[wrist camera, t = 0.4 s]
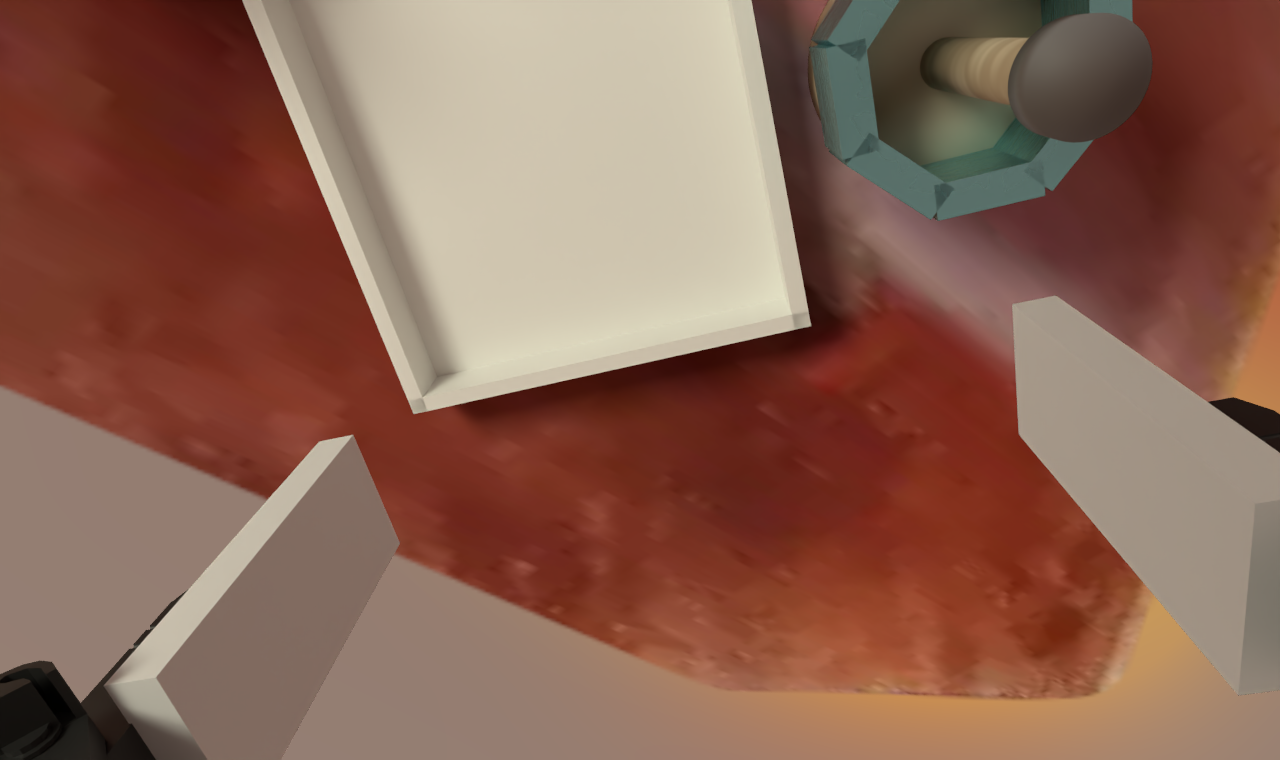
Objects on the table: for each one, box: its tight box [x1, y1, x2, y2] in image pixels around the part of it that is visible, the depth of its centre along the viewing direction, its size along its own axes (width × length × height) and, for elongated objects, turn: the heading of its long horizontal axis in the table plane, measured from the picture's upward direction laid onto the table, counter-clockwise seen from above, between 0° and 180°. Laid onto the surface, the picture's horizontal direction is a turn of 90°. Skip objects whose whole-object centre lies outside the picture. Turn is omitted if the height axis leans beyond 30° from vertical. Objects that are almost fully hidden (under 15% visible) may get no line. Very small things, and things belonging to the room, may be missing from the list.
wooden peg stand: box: [808, 0, 1152, 166], centre depth 28 cm, size 10×10×17 cm
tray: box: [242, 0, 811, 414], centre depth 37 cm, size 23×21×4 cm
